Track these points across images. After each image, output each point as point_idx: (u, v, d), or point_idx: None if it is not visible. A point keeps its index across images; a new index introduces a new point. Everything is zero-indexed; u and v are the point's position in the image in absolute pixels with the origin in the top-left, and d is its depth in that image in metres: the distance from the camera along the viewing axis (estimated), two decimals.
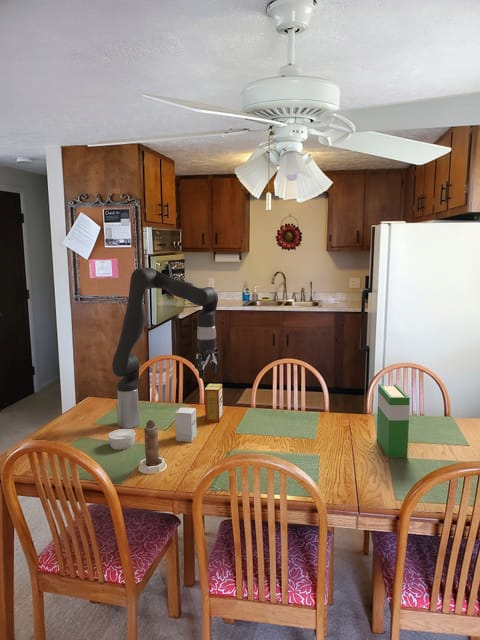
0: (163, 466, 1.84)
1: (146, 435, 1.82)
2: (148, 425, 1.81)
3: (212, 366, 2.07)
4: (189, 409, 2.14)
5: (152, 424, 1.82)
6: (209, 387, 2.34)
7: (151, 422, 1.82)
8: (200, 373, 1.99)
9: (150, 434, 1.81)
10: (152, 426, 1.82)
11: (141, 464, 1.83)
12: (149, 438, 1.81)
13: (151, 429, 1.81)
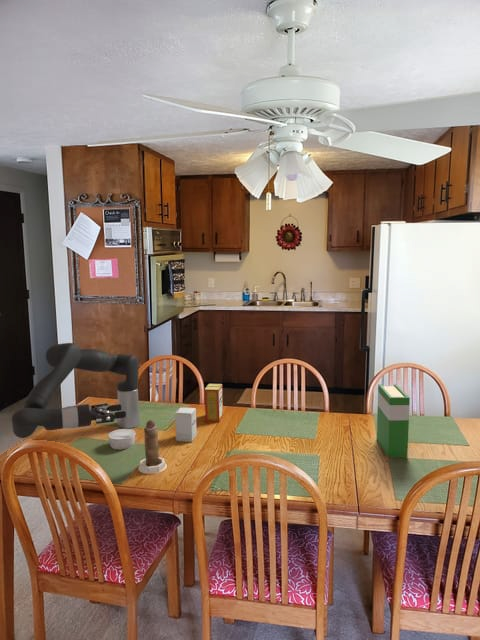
0: (163, 466, 1.84)
1: (146, 435, 1.82)
2: (148, 425, 1.81)
3: None
4: (189, 409, 2.14)
5: (152, 424, 1.82)
6: (209, 387, 2.34)
7: (151, 422, 1.82)
8: None
9: (150, 434, 1.81)
10: (152, 426, 1.82)
11: (141, 464, 1.83)
12: (149, 438, 1.81)
13: (151, 429, 1.81)
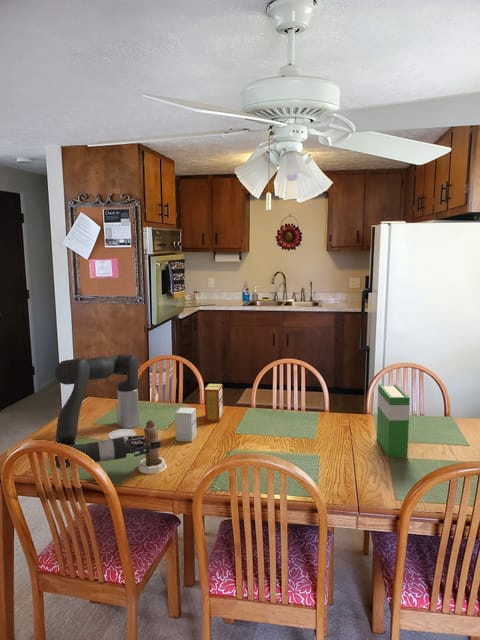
0: (163, 466, 1.84)
1: (146, 435, 1.82)
2: (148, 425, 1.81)
3: None
4: (189, 409, 2.14)
5: (152, 424, 1.82)
6: (209, 387, 2.34)
7: (151, 422, 1.82)
8: None
9: (150, 434, 1.81)
10: (152, 426, 1.82)
11: (141, 464, 1.83)
12: (149, 438, 1.81)
13: (151, 429, 1.81)
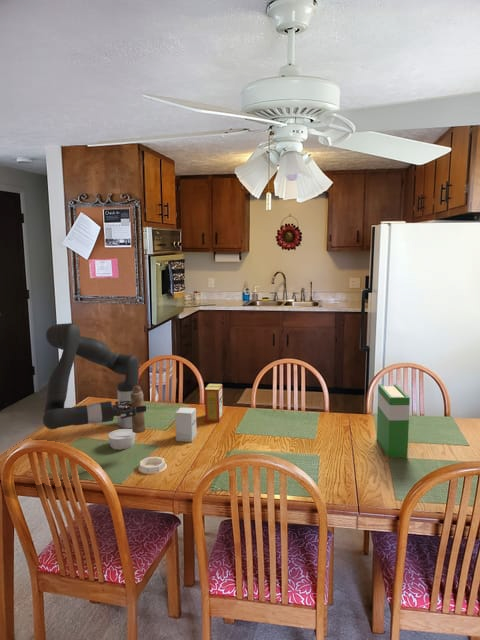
0: (163, 466, 1.84)
1: (132, 399, 1.91)
2: (134, 390, 1.91)
3: None
4: (189, 409, 2.14)
5: (138, 389, 1.91)
6: (209, 387, 2.34)
7: (137, 387, 1.91)
8: None
9: (136, 398, 1.90)
10: (138, 391, 1.91)
11: (141, 464, 1.83)
12: (135, 402, 1.91)
13: (137, 394, 1.90)
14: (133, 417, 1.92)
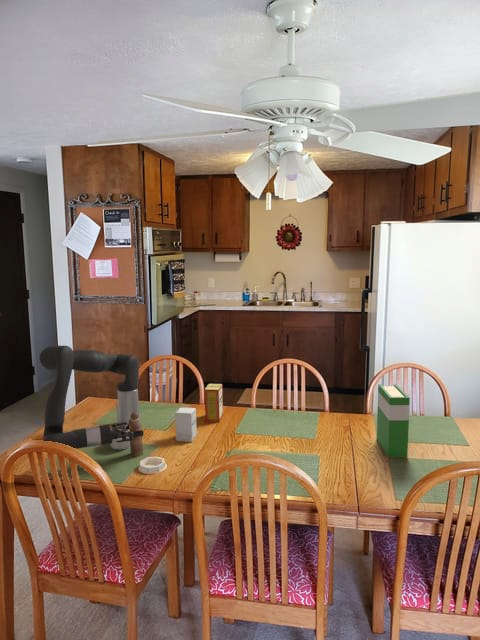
0: (163, 466, 1.84)
1: (130, 426, 1.93)
2: (132, 417, 1.93)
3: None
4: (189, 409, 2.14)
5: (136, 416, 1.93)
6: (209, 387, 2.34)
7: (135, 414, 1.94)
8: None
9: (134, 425, 1.93)
10: (136, 418, 1.93)
11: (141, 464, 1.83)
12: (133, 429, 1.93)
13: (135, 420, 1.93)
14: (131, 443, 1.94)
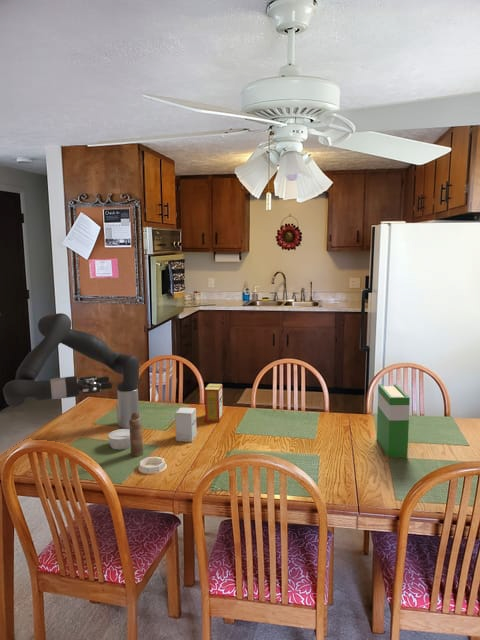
0: (163, 466, 1.84)
1: (131, 426, 1.93)
2: (133, 417, 1.93)
3: None
4: (189, 409, 2.14)
5: (136, 416, 1.94)
6: (209, 387, 2.34)
7: (135, 414, 1.94)
8: None
9: (134, 425, 1.93)
10: (136, 418, 1.94)
11: (141, 464, 1.83)
12: (133, 429, 1.93)
13: (135, 420, 1.93)
14: (131, 443, 1.95)
